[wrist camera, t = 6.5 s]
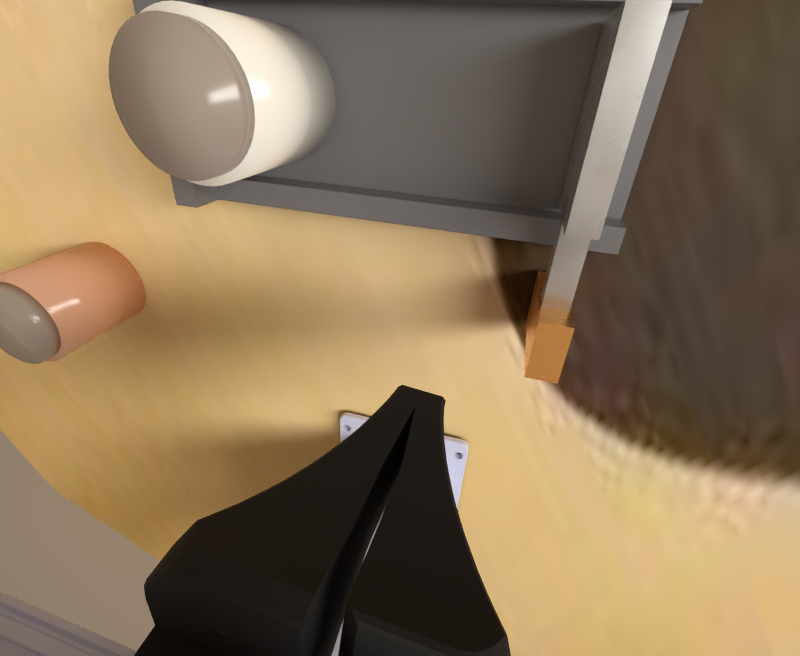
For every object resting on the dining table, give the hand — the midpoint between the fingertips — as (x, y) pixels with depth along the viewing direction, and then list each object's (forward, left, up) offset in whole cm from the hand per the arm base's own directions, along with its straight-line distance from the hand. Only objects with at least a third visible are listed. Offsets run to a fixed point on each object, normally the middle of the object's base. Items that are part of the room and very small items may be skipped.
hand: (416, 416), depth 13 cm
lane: (+8, +3, -9) cm, 12 cm away
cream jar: (+8, +8, -9) cm, 14 cm away
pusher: (+5, -4, -9) cm, 11 cm away
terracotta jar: (-3, +22, -9) cm, 24 cm away
